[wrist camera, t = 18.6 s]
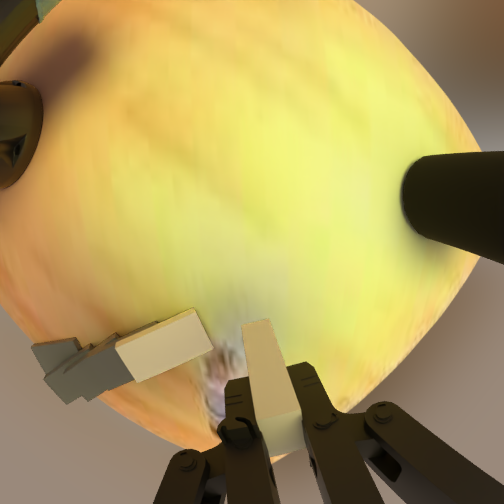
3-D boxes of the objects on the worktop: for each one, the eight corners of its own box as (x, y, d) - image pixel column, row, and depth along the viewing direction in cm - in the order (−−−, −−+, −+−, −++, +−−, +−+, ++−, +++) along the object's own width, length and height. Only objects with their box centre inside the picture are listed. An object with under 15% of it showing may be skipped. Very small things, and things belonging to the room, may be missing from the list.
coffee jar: (422, 253, 31) (528, 300, 13) (384, 188, 28) (511, 199, 11) (462, 204, 30) (562, 224, 12) (430, 140, 27) (541, 129, 10)
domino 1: (93, 365, 31) (50, 368, 31) (77, 335, 30) (35, 342, 30) (89, 371, 30) (45, 374, 29) (72, 340, 28) (30, 347, 28)
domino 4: (175, 354, 31) (109, 383, 28) (156, 320, 30) (87, 352, 27) (177, 359, 29) (108, 390, 26) (156, 325, 28) (85, 358, 25)
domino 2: (113, 370, 31) (68, 398, 28) (90, 343, 30) (45, 374, 27) (112, 376, 29) (66, 404, 27) (88, 348, 28) (43, 379, 25)
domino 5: (210, 343, 31) (137, 376, 28) (193, 307, 30) (116, 342, 27) (213, 348, 29) (137, 383, 26) (195, 311, 28) (114, 348, 25)
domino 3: (140, 361, 31) (89, 395, 28) (115, 332, 29) (64, 369, 27) (140, 367, 29) (88, 401, 27) (114, 337, 28) (62, 375, 25)
